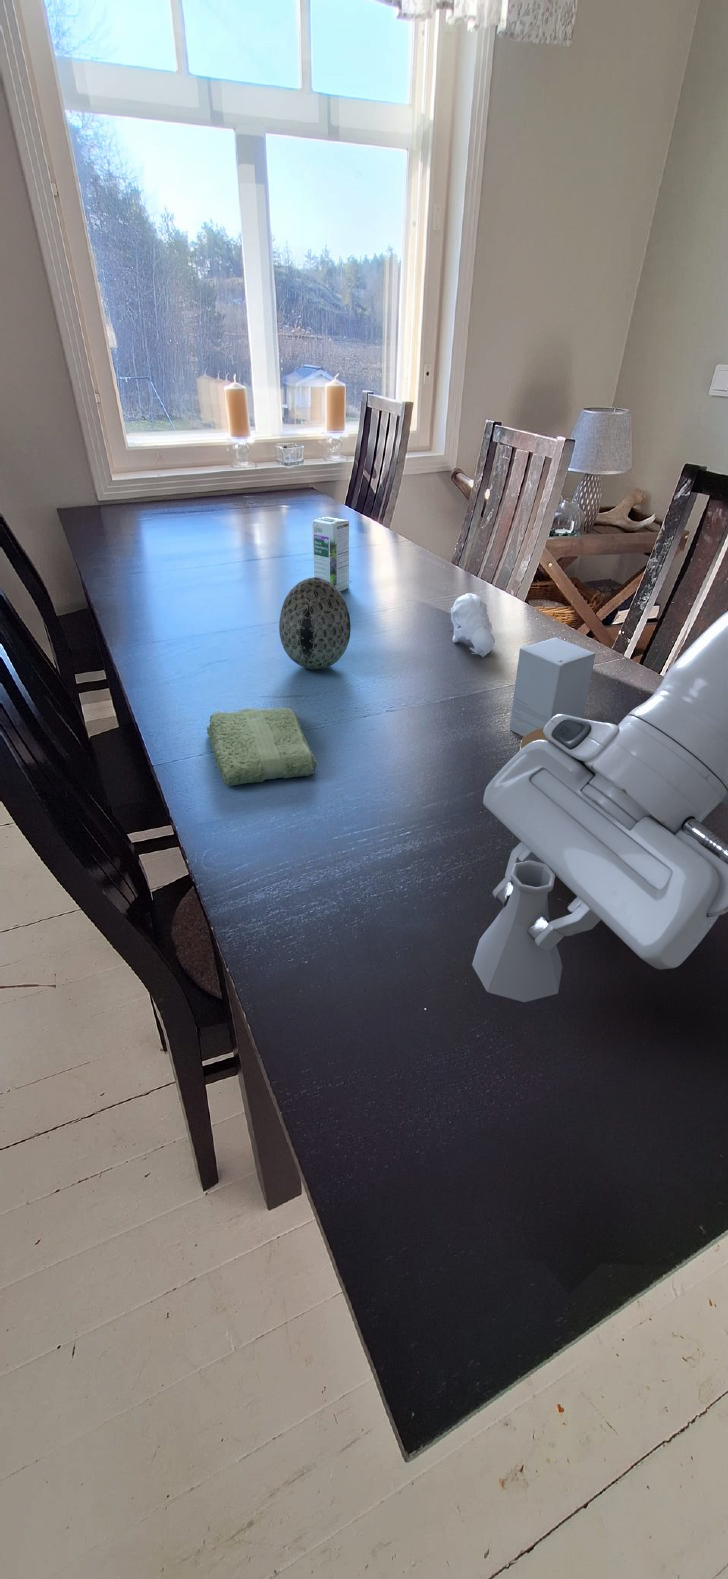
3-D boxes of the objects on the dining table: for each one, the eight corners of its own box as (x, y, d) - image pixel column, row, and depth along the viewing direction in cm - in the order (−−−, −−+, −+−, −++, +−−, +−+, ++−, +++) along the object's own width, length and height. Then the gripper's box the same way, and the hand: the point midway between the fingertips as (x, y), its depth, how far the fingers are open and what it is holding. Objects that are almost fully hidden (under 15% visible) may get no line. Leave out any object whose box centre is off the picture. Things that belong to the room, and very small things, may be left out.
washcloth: (294, 716, 103) (293, 696, 101) (321, 779, 89) (320, 757, 87) (205, 727, 100) (202, 707, 98) (218, 794, 86) (215, 772, 84)
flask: (467, 933, 59) (477, 842, 53) (553, 935, 59) (572, 843, 53) (476, 1003, 53) (489, 909, 47) (571, 1005, 53) (595, 910, 47)
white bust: (483, 588, 125) (510, 617, 116) (476, 631, 131) (502, 662, 122) (450, 590, 124) (475, 620, 115) (445, 634, 129) (468, 665, 121)
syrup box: (313, 589, 151) (310, 520, 143) (329, 583, 155) (328, 515, 147) (333, 595, 148) (333, 524, 140) (350, 587, 152) (350, 518, 144)
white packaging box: (581, 736, 99) (598, 653, 92) (544, 750, 95) (560, 665, 88) (542, 715, 104) (556, 635, 97) (506, 728, 100) (518, 646, 93)
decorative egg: (293, 650, 123) (288, 565, 115) (357, 656, 121) (357, 570, 113) (272, 677, 114) (266, 587, 105) (341, 684, 112) (341, 593, 103)
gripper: (782, 888, 44) (630, 1036, 47) (576, 741, 60) (470, 858, 62) (754, 853, 40) (590, 1018, 43) (541, 705, 56) (429, 832, 58)
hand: (517, 922), depth 52 cm, fingers closed on flask, 3 cm apart
